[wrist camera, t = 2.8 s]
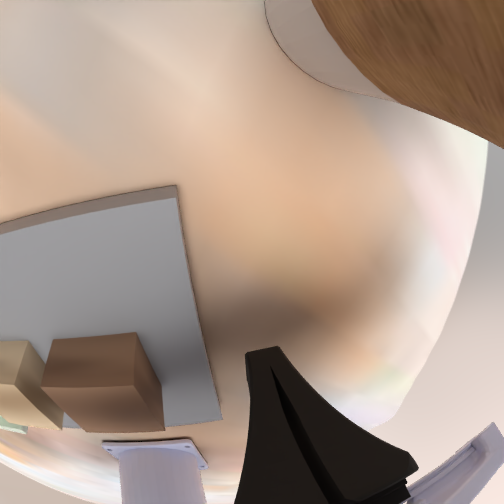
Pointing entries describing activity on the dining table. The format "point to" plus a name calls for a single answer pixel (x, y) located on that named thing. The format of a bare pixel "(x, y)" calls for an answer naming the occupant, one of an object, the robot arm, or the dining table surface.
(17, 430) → the tray
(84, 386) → the walnut tile
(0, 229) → the slate board
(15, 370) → the oak tile
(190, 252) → the dining table surface
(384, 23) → the coffee cup
